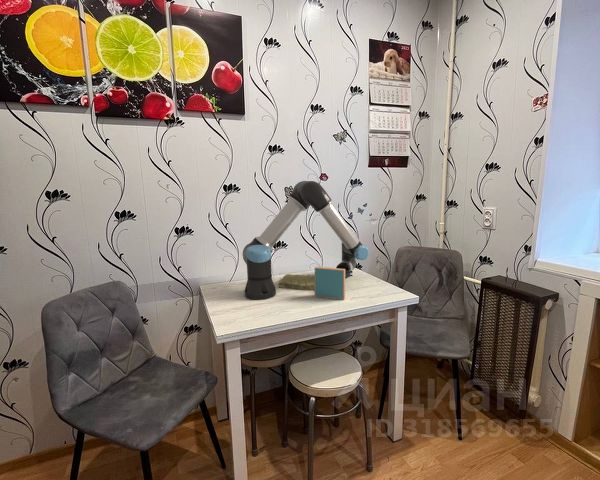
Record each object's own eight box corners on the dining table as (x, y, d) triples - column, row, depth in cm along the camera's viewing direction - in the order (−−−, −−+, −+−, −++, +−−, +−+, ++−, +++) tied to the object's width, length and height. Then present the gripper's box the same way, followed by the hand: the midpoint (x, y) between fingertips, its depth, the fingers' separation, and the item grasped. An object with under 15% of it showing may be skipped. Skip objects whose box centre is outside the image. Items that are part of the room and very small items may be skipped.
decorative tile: (285, 279, 184) (285, 273, 183) (320, 280, 180) (320, 274, 179) (276, 289, 166) (276, 283, 165) (315, 291, 162) (315, 284, 161)
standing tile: (314, 296, 153) (314, 268, 151) (316, 294, 156) (316, 266, 153) (343, 300, 148) (343, 270, 146) (345, 298, 150) (345, 269, 148)
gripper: (356, 276, 173) (345, 290, 151) (332, 274, 178) (318, 287, 156) (356, 262, 172) (345, 275, 150) (332, 261, 176) (318, 272, 155)
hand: (331, 281), depth 153 cm, fingers closed
